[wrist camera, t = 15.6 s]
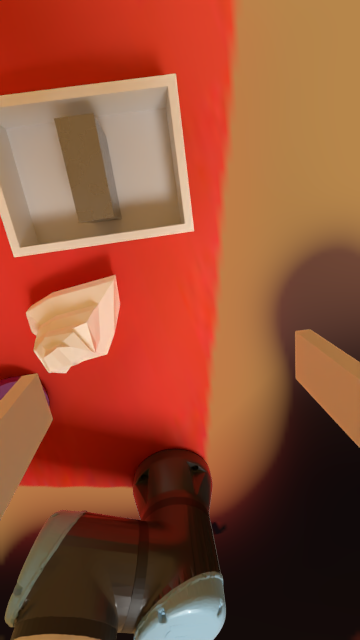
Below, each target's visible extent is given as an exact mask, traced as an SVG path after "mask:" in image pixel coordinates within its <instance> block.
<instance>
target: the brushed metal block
mask: <svg viewBox="0 0 360 640" xmlns="http://www.w3.org/2000/svg"><path fill="white" fill-rule="evenodd" d="M54 121H55V125H56V129H57V133H58V138H59V142H60V146H61V150H62V154H63V158H64V163H65V167H66V171H67V175H68V179H69V184H70V188H71V192H72V196H73V200H74V205H75V209H76V213H77V217H78V221H79V222H81V223H97V222H104V221H111V220H117V219H122V216H121V211H120V206H119V201H118V195H117V190H116V185H115V180H114V175H113V169H112V164H111V159H110V154H109V148H108V143H107V138H106V135H105V133H104V131H103V130H102V128H101V126H100V124H99V122H98V120H97V119H96V117H95V115H94V113H91V114H84V115H76V116H68V117H61V118H54Z"/></svg>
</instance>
